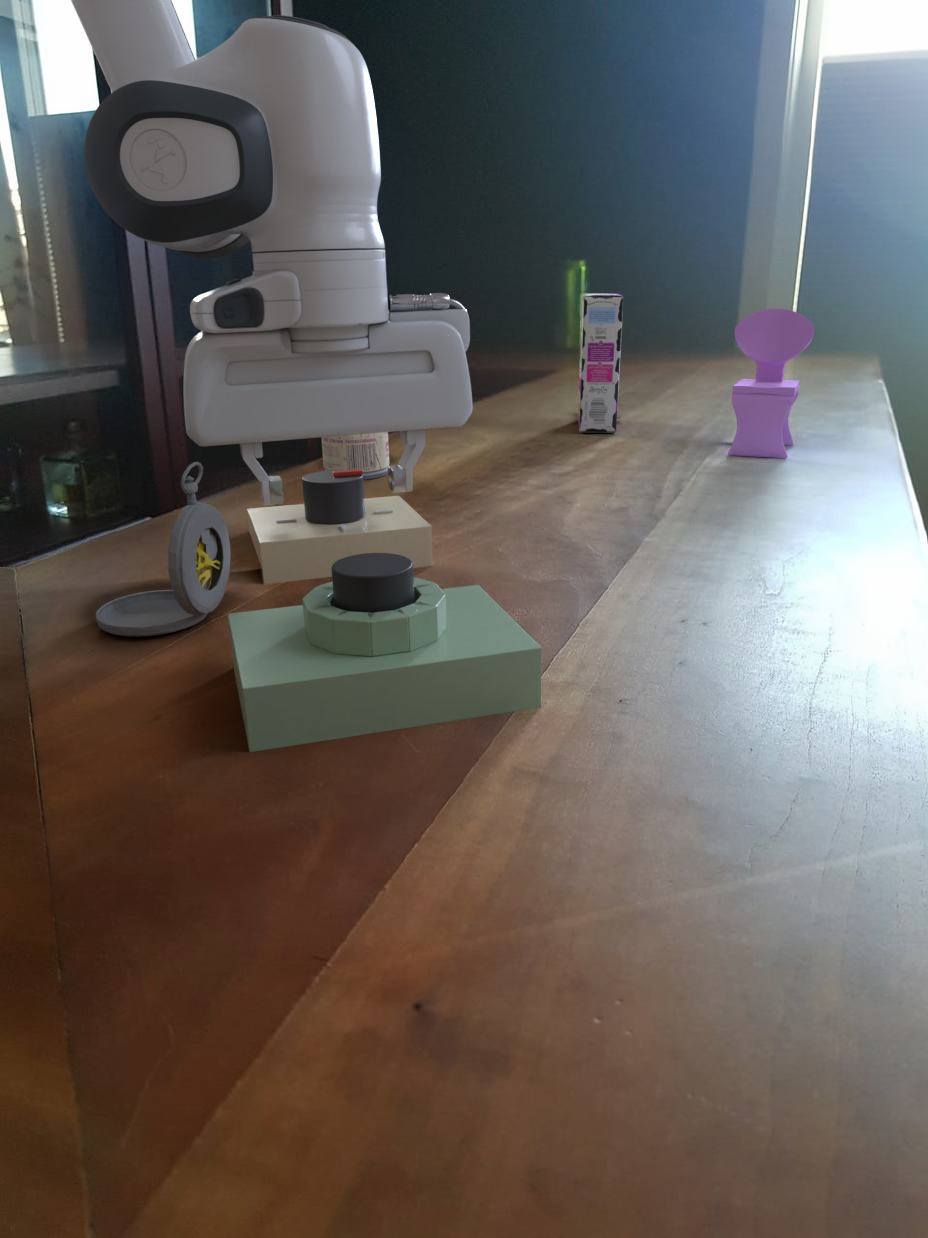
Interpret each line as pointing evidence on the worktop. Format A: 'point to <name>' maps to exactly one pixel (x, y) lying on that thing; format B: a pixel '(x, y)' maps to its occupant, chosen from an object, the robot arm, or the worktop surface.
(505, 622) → the button base
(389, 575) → the black push button
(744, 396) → the toy chair
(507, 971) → the worktop surface
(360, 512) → the dial
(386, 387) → the robot arm
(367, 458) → the aerosol can
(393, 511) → the dial panel
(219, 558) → the pocket watch
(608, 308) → the candy bar box
